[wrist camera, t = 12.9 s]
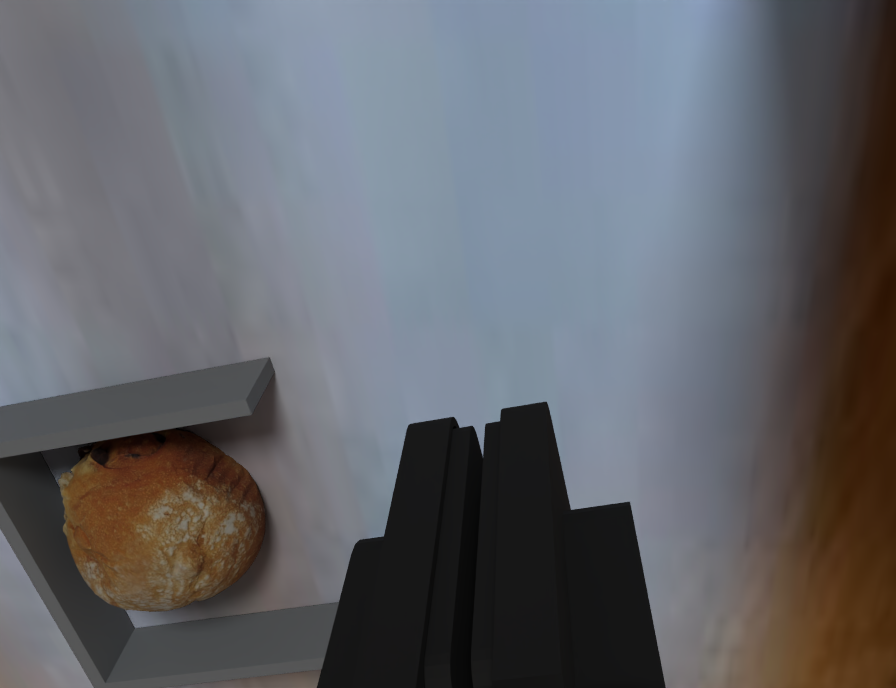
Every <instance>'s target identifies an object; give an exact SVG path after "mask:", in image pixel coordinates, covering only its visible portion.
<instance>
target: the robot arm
mask: <svg viewBox="0 0 896 688" xmlns="http://www.w3.org/2000/svg"><path fill="white" fill-rule="evenodd" d="M317 688H666V687H665V682H664V677H663V672H662V666H661V661H660V656H659V651H658V646H657V640H656V635H655V630H654V625H653V620H652V614H651V609H650V604H649V599H648V593H647V588H646V583H645V578H644V573H643V567H642V562H641V557H640V552H639V546H638V541H637V536H636V531H635V526H634V520H633V515H632V510H631V505H630V502H624V503H617V504H610V505H603V506H596V507H589V508H582V509H575V510H571V508H570V504H569V499H568V494H567V490H566V485H565V480H564V476H563V471H562V466H561V462H560V457H559V452H558V448H557V443H556V438H555V434H554V429H553V424H552V420H551V415H550V411H549V407H548V404H547V402H541V403H535V404H529V405H523V406H517V407H510V408H504V409H502V410H501V418H500V421H499V422H493V423H487V424H486V425H485V437H484V453H483V456H482V453H481V449H480V445H479V441H478V437H477V434H476V431H475V429H474V427H473V426H468V427H462V428H459V425H458V423H457V421H456V419H455V418H454V417H449V418H443V419H437V420H431V421H425V422H419V423H413V424H410V425H408V428H407V432H406V436H405V441H404V446H403V450H402V455H401V460H400V464H399V469H398V474H397V478H396V483H395V488H394V492H393V497H392V502H391V507H390V511H389V516H388V521H387V525H386V530H385V535H384V537H377V538H370V539H363V540H359V541H358V542H357V543H356V544H355V546H354V549H353V551H352V554H351V558H350V562H349V566H348V570H347V573H346V577H345V581H344V585H343V589H342V593H341V597H340V601H339V604H338V608H337V612H336V616H335V620H334V624H333V628H332V631H331V635H330V639H329V643H328V647H327V651H326V655H325V659H324V662H323V666H322V670H321V674H320V678H319V682H318V686H317Z"/></svg>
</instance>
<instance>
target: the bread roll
mask: <svg viewBox="0 0 896 688" xmlns="http://www.w3.org/2000/svg"><path fill="white" fill-rule="evenodd" d="M78 453H79V456H80V457H81V458H80V461H79V463H77V464H76V465H75V466H74V467H73V468H72V469H71V471H72V473H69V472H65V473H62V474H61V478H60V479H59V481H58V483H59V485H60V492H61V495H62V497H63V504H64V507H65V514H64V518H65V520H66V522H65V524H64V526H63V532H64V533H65V535H66V537H67V541H68V545H69V548H70V551H71V554H72V557H73V559H74V561H75V564H76V566H77V568H78V570H79V572H80V574H81V575H82V577H83V579H84V580H85V582H86V583H87V585H88V586H89V587H90V588H91V589H92V590H93V591H94V593H95V594H96V595H97V596H99V597H100V598H101V599H103V600H104V601H106V602H107V603H109V604H110V605H113V606H116V607H120V608H123V609H125V610H138V611H149V612H153V611H168V610H172V609H177V608H181V607H184V606H186V605H188V604H190V603H192V602H193V601H195V600H197V601H202V600H205V599H208V598H211V597H213V596H215V595H217V594H218V593H220V592H222V591H223V590H225V589H226V588H228V587H229V586H231V585H232V584H233V583H235V582H236V581H237V580H238V579H240V578H241V577H242V576H243V574H244V573H245V572H246V571H247V570H248V569H249V568H250V566H251V565H252V563H253V562H254V560H255V559H256V557H257V555H258V553H259V551H260V548H261V545H262V542H263V538H264V534H265V509H264V504H263V501H262V498H261V495H260V493H259V490H258V488H257V485H256V483H255V482H254V480H253V479H252V477H251V475H250V474H249V472H248V471H247V470H246V469H245V468H244V467H243V466H242V465H240V464H239V463H237V462H236V461H235V460H234V459H233V458H232V457H229V456H227V455H225V453H224V452H222V451H221V450H220V449H218V448H217V447H215V446H214V445H212V444H210V443H209V442H207V441H206V440H204V439H202V438H201V437H199V436H198V435H196V434H194V433H191V432H187V431H183V430H178V429H174V428H172V429H166V430H161V431H155V432H149V433H143V434H137V435H132V436H126V437H120V438H114V439H108V440H102V441H98V442H97V443H93V444H92V445H91V446H84V447H81V448H79V450H78Z"/></svg>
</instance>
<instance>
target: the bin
mask: <svg viewBox="0 0 896 688" xmlns="http://www.w3.org/2000/svg"><path fill="white" fill-rule="evenodd" d="M274 372H275V371H274V369H273V366H272V363H271V361H270V358H263V359H258V360H253V361H247V362H242V363H236V364H231V365H225V366H220V367H214V368H209V369H203V370H198V371H193V372H187V373H182V374H176V375H171V376H165V377H160V378H154V379H149V380H143V381H138V382H133V383H127V384H122V385H116V386H111V387H105V388H100V389H94V390H89V391H83V392H78V393H73V394H67V395H62V396H56V397H51V398H45V399H40V400H34V401H29V402H23V403H18V404H13V405H7V406H2V407H0V529H1V531H2V532H3V534H4V536H5V537H6V539H7V541H8V542H9V544H10V546H11V548H12V549H13V551H14V553H15V554H16V556H17V558H18V559H19V561H20V563H21V565H22V566H23V568H24V570H25V571H26V573H27V575H28V576H29V578H30V580H31V582H32V583H33V585H34V587H35V588H36V590H37V592H38V593H39V595H40V597H41V599H42V600H43V602H44V604H45V605H46V607H47V609H48V610H49V612H50V614H51V615H52V617H53V619H54V621H55V622H56V624H57V626H58V627H59V629H60V631H61V632H62V634H63V636H64V638H65V639H66V641H67V643H68V644H69V646H70V648H71V649H72V651H73V653H74V655H75V656H76V658H77V660H78V661H79V663H80V665H81V666H82V668H83V670H84V672H85V673H86V675H87V677H88V678H89V680H90V682H91V683H92V685H93V687H94V688H163V687H172V686H180V685H189V684H198V683H206V682H215V681H224V680H233V679H241V678H250V677H259V676H267V675H276V674H285V673H293V672H302V671H311V670H319V669H322V666H323V662H324V659H325V655H326V651H327V647H328V643H329V639H330V635H331V631H332V628H333V624H334V620H335V616H336V612H337V608H338V604H339V602H337V603H330V604H322V605H314V606H306V607H299V608H291V609H283V610H275V611H267V612H260V613H252V614H244V615H236V616H229V617H221V618H213V619H205V620H198V621H190V622H182V623H174V624H167V625H159V626H151V627H143V628H136V629H135V628H134V626H133V625H132V623H131V621H130V619H129V617H128V615H127V613H126V612H125V610H124V609H123V608H120V607H116V606H113V605H110V604H109V603H107V602H106V601H104V600H103V599H101V598H100V597H99V596H97V595H96V594H95V593H94V591H93V590H92V589H91V588H90V587H89V586H88V585H87V583H86V582H85V580H84V579H83V577H82V575H81V574H80V572H79V570H78V568H77V566H76V564H75V561H74V559H73V557H72V554H71V551H70V548H69V545H68V541H67V537H66V535H65V533H64V532H63V526H64V524H65V522H66V520H65V518H64V514H65V507H64V504H63V497H62V495H61V492H60V488H59V486H58V485H57V483H56V481H55V479H54V477H53V475H52V473H51V472H50V470H49V468H48V466H47V464H46V462H45V460H44V458H43V457H42V455H41V453H40V451H44V450H50V449H56V448H62V447H67V446H73V445H79V444H85V443H91V442H97V441H102V440H108V439H114V438H120V437H126V436H132V435H137V434H143V433H149V432H155V431H161V430H166V429H172V428H178V427H184V426H190V425H196V424H201V423H207V422H213V421H219V420H225V419H231V418H236V417H242V416H248V415H252V413H253V411H254V410H255V408H256V406H257V404H258V402H259V400H260V398H261V396H262V394H263V393H264V391H265V389H266V387H267V385H268V383H269V381H270V379H271V377H272V376H273V374H274Z"/></svg>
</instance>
